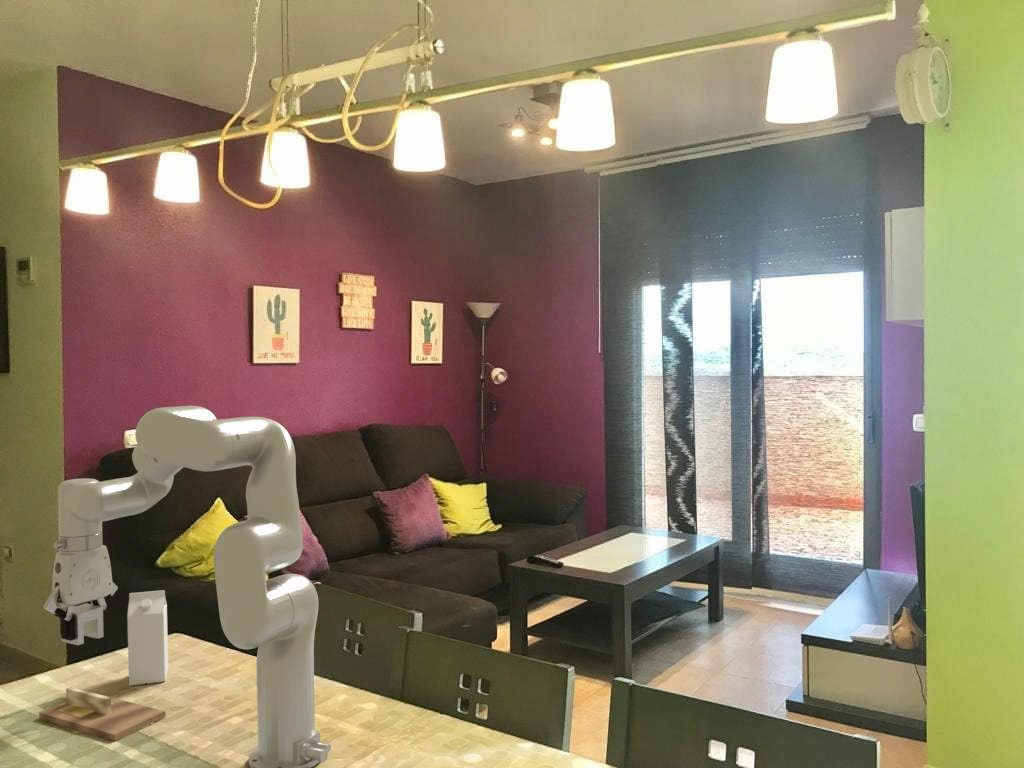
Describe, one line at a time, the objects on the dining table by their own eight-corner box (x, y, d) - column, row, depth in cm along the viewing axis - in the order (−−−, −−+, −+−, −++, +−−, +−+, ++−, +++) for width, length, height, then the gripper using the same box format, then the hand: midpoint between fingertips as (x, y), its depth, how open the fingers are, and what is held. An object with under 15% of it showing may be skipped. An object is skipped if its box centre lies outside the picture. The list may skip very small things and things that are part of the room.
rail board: (165, 717, 159) (165, 696, 159) (115, 741, 149) (114, 718, 149) (91, 697, 169) (90, 677, 169) (39, 718, 159) (38, 697, 159)
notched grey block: (103, 636, 162) (102, 606, 162) (78, 645, 158) (77, 614, 157) (86, 633, 165) (86, 603, 164) (61, 641, 160) (60, 610, 160)
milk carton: (133, 674, 182) (131, 589, 181) (168, 670, 184) (166, 586, 183) (129, 686, 175) (126, 597, 174) (165, 682, 177) (163, 594, 176)
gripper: (51, 553, 151) (53, 651, 152) (132, 535, 166) (133, 624, 167) (25, 549, 155) (28, 645, 155) (107, 532, 170) (108, 619, 170)
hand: (82, 633), depth 161 cm, fingers closed on notched grey block, 5 cm apart
